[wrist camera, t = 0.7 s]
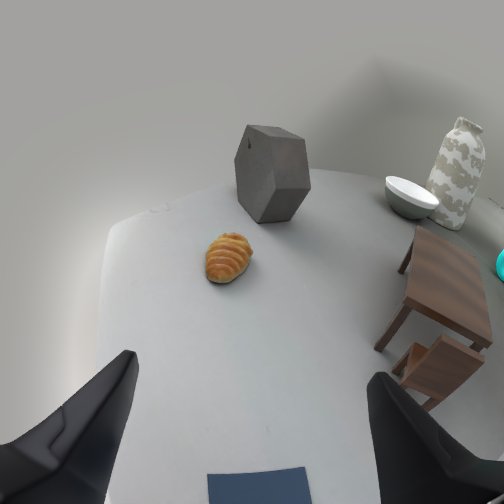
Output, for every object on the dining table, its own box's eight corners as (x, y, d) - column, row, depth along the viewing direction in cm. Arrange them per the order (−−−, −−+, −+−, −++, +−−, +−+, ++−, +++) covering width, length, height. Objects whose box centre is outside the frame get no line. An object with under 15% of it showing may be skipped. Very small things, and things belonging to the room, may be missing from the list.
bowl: (409, 203, 86) (417, 182, 81) (439, 231, 71) (450, 208, 66) (368, 194, 83) (375, 171, 78) (396, 224, 68) (407, 197, 63)
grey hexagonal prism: (314, 217, 51) (300, 113, 49) (278, 220, 48) (265, 108, 46) (270, 222, 66) (261, 139, 64) (240, 225, 63) (232, 137, 61)
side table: (447, 388, 28) (492, 342, 22) (370, 349, 33) (406, 295, 27) (451, 296, 45) (475, 257, 39) (397, 267, 50) (417, 224, 45)
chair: (418, 419, 24) (484, 362, 17) (381, 402, 26) (441, 339, 20) (426, 383, 29) (481, 324, 22) (392, 367, 31) (443, 302, 24)
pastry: (239, 292, 39) (243, 271, 37) (194, 280, 39) (194, 259, 37) (253, 255, 46) (256, 235, 44) (214, 245, 47) (215, 226, 45)
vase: (467, 236, 74) (505, 137, 52) (428, 222, 75) (467, 112, 53) (445, 211, 91) (475, 125, 69) (409, 197, 92) (438, 104, 70)
